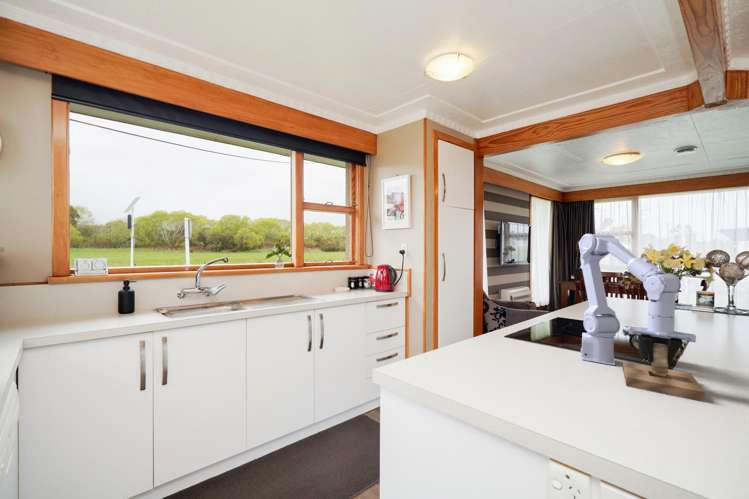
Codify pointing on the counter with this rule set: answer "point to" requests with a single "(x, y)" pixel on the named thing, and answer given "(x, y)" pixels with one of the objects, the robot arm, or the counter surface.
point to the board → (663, 381)
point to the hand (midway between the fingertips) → (659, 362)
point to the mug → (641, 344)
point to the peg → (660, 359)
